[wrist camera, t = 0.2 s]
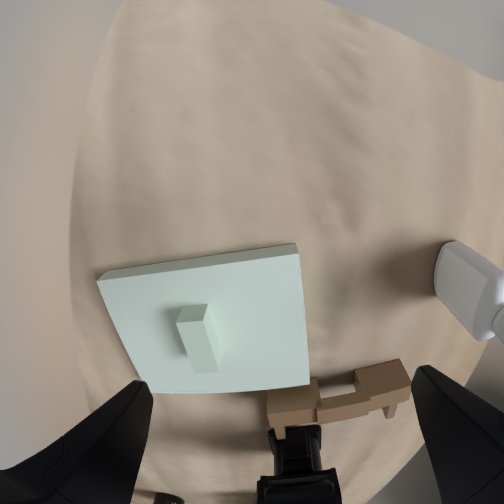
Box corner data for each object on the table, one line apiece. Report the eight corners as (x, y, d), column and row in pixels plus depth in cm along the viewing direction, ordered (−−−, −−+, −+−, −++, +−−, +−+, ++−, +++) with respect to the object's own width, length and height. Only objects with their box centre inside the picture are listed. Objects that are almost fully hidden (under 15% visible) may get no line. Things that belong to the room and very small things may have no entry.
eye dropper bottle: (417, 288, 22) (490, 377, 11) (446, 232, 20) (542, 299, 9) (446, 300, 23) (514, 380, 12) (473, 250, 21) (558, 314, 10)
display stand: (307, 369, 26) (312, 401, 22) (154, 379, 27) (143, 408, 23) (295, 243, 21) (302, 266, 17) (106, 270, 23) (83, 294, 19)
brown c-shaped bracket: (389, 405, 28) (399, 432, 24) (276, 426, 30) (277, 456, 25) (399, 358, 25) (414, 387, 21) (266, 383, 27) (266, 417, 23)
